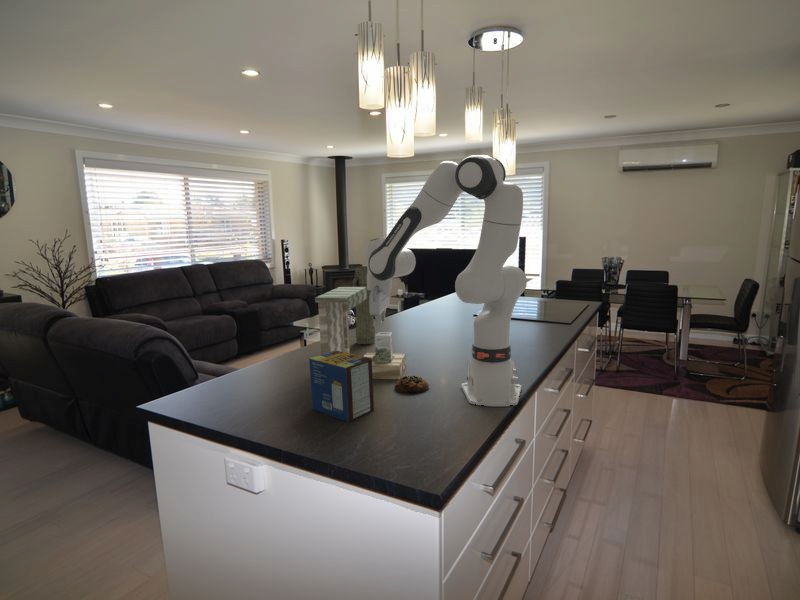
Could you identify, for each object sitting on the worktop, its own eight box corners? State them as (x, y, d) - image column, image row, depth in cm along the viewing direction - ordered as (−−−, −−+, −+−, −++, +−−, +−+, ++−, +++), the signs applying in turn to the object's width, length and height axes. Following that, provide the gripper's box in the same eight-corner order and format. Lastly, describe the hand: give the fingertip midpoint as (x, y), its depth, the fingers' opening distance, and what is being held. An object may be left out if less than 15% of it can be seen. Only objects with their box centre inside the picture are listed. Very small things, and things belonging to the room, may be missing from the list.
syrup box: (393, 369, 165) (392, 331, 163) (391, 375, 159) (390, 335, 157) (378, 369, 165) (376, 331, 163) (375, 374, 160) (374, 335, 157)
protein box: (337, 398, 138) (335, 349, 136) (374, 410, 128) (372, 357, 126) (311, 409, 130) (308, 357, 128) (348, 422, 120) (345, 367, 118)
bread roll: (399, 396, 139) (399, 379, 138) (391, 389, 149) (390, 374, 149) (433, 393, 141) (433, 377, 141) (422, 386, 152) (422, 371, 152)
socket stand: (396, 385, 148) (394, 297, 143) (319, 383, 152) (314, 297, 147) (408, 361, 175) (406, 286, 171) (342, 360, 179) (339, 286, 175)
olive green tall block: (349, 344, 204) (346, 267, 198) (366, 338, 213) (363, 265, 208) (365, 346, 199) (362, 268, 193) (381, 341, 208) (378, 265, 203)
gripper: (382, 288, 147) (383, 329, 149) (393, 280, 167) (393, 317, 169) (364, 288, 148) (365, 329, 150) (376, 280, 168) (377, 317, 170)
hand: (380, 322), depth 160 cm, fingers open, 5 cm apart
